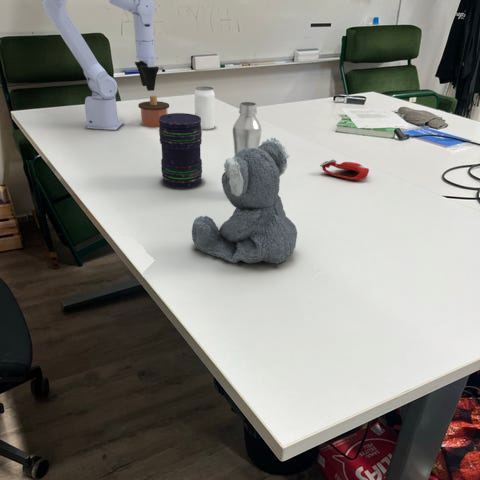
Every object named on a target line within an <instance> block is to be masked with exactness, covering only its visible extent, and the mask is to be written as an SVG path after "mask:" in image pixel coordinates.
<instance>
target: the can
mask: <svg viewBox="0 0 480 480" xmlns="http://www.w3.org/2000/svg"><path fill="white" fill-rule="evenodd" d="M215 109H216V94H215V91H214V87H212V86H206V85H205V86H203V85H202V86H196V87H195V91H194V115H197V116H199V117H200V118H201V123H200V124H201V130H202V131H207V130H212V129H214V128H215V124H216V123H215V121H216V120H215V119H216V118H215V117H216V110H215Z"/></svg>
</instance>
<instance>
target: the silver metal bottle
mask: <svg viewBox="0 0 480 480" xmlns="http://www.w3.org/2000/svg"><path fill="white" fill-rule="evenodd" d="M257 107H258V106H257V103H256V102H253V101H242V102H240V103H239V110H238V113H239V116H238V118H237V119H236V121H235V123H234V124H233V127H232V139H233V140H232V141H233V154H234V156H235V155H236V154H237V153H238V152H239V151H241V150H242V149H248V148H256V149H258V147H259V146H260V143H261V137H262V132H263V131H262V125H261V124H260V121H259V120H258V118H257V117H256V114H257ZM234 156H233V157H234Z"/></svg>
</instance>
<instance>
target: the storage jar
mask: <svg viewBox="0 0 480 480" xmlns="http://www.w3.org/2000/svg"><path fill="white" fill-rule="evenodd" d="M159 123H160V124H159V127H158V128H159V129H158V133H159V134H158V135H159V143H160V145H161V146H160V147H161V159H160V165H161V167H160V168H161V169H160V170H161V176H162V184H163V186H166V187H167V188H169V189H175V190H188V189H189V190H191V189H195V188H197V187H200V186H201V185H202V183H203V179H202V176H203V175H202V173H203V160H202V158H201V145H202V142H203V139H202V137H203V135H202V134H203V133H202V132H203V130H202V129H201V124H200V123H201V118H200V117H199V116H197V115H195V114H193V113H184V112H174V113H173V112H172V113H168V114H165V115H162V116H160V117H159Z"/></svg>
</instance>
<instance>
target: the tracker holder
mask: <svg viewBox="0 0 480 480" xmlns="http://www.w3.org/2000/svg"><path fill="white" fill-rule="evenodd" d="M331 166H332V167H334V168H336V169H340V170H345V171H352V172H357V173H358V174H357V175H355V176H354V177H352V176H347V175H343V174H339V173H334V172H331V171H329V170H327V169H329V168H330V167H331ZM319 167H321V169H322V171H323V172H325V173H326V174H327V175H330V176H334V177H337V178H342V179H345V180H351V181H362V180H364V179H366V177H367V176H368V174H369V173H370V169H369V168H368V167H365V166H364V165H362V164H360V163H358V162H354V161H343V162H341V163H338V162H337V160H335V159H331V160H325V161H323V162H322V163H321V164H320V165H319Z"/></svg>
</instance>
